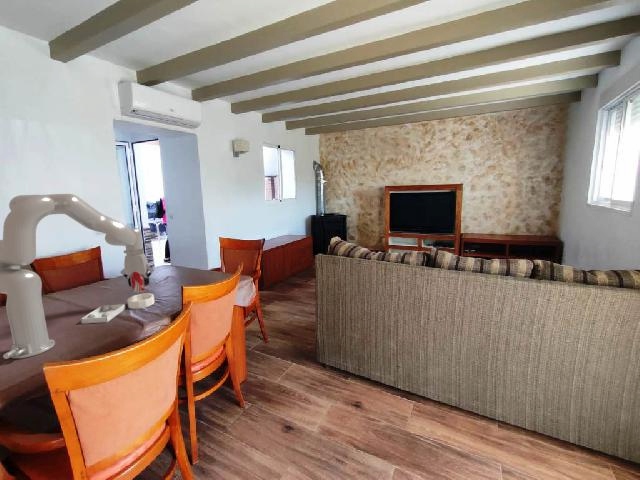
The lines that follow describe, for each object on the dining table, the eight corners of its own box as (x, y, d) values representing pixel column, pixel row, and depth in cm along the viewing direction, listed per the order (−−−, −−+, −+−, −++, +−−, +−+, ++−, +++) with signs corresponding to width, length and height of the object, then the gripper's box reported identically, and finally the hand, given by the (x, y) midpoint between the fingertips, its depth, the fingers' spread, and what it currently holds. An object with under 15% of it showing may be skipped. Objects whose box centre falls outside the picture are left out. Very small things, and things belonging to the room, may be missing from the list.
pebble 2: (108, 312, 148) (107, 306, 148) (101, 312, 148) (100, 306, 148) (111, 309, 151) (110, 304, 151) (105, 310, 151) (104, 304, 151)
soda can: (140, 293, 153) (137, 270, 151) (128, 292, 154) (125, 270, 152) (150, 288, 160) (148, 267, 158) (139, 288, 161) (136, 266, 159)
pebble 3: (107, 320, 139) (106, 313, 138) (100, 320, 138) (99, 314, 138) (111, 317, 142) (110, 311, 141) (104, 317, 141) (103, 311, 141)
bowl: (148, 308, 153) (147, 300, 152) (123, 309, 152) (122, 302, 151) (157, 299, 165) (157, 292, 164) (135, 301, 163) (134, 294, 163)
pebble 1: (93, 321, 138) (92, 315, 137) (86, 322, 137) (85, 315, 137) (97, 318, 141) (96, 312, 140) (90, 319, 140) (89, 313, 140)
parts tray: (107, 322, 137) (106, 317, 137) (81, 324, 136) (80, 318, 135) (125, 308, 153) (125, 304, 152) (102, 310, 151) (101, 305, 151)
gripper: (113, 254, 149) (117, 288, 152) (149, 253, 151) (153, 286, 154) (121, 251, 156) (125, 284, 159) (155, 250, 158) (159, 282, 161)
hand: (139, 285), depth 156 cm, fingers closed on soda can, 7 cm apart
